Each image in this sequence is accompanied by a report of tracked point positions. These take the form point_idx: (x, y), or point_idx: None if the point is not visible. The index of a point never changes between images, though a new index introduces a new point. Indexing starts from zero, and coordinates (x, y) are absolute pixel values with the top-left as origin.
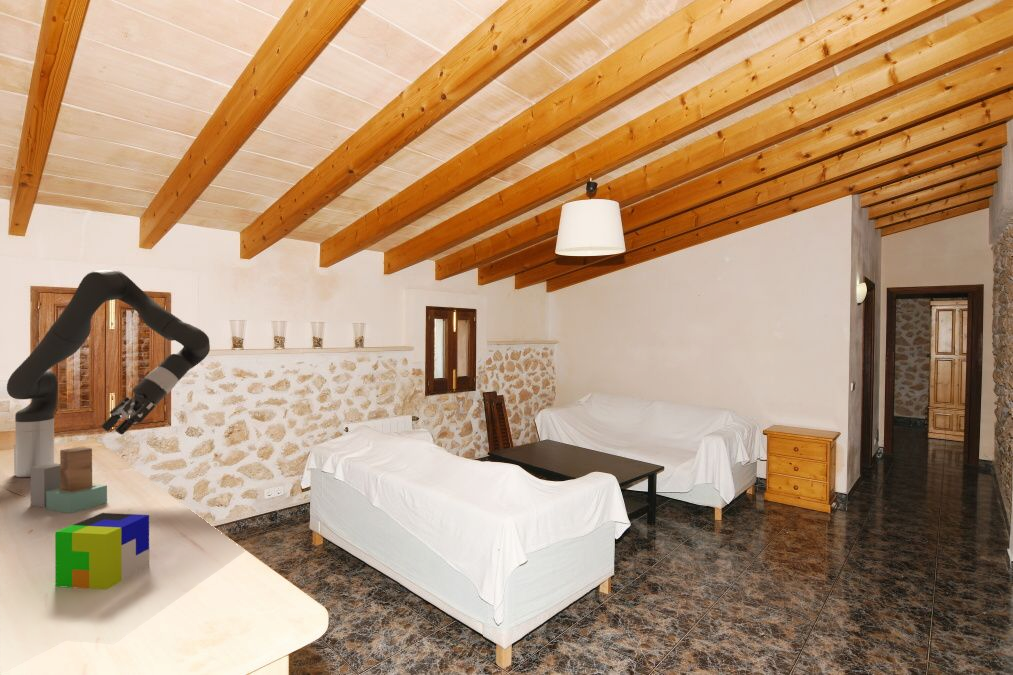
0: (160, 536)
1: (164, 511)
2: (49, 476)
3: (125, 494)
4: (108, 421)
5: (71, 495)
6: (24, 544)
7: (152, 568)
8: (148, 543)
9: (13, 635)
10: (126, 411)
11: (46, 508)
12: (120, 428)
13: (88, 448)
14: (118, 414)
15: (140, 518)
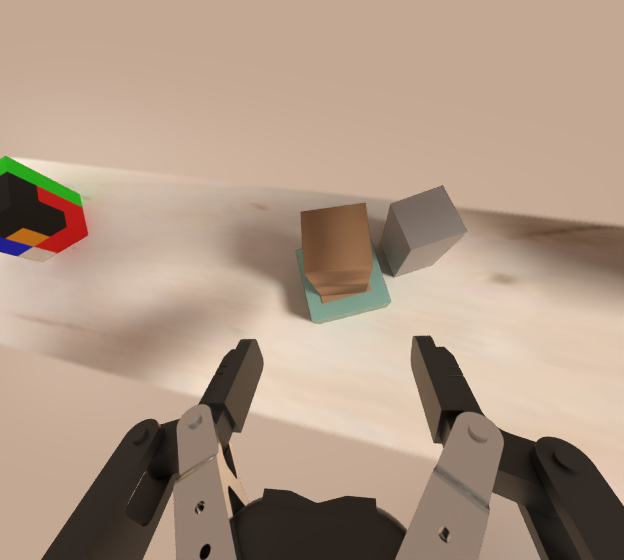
0: (94, 305)
1: (178, 362)
2: (392, 225)
3: (348, 371)
4: (425, 374)
5: (296, 253)
6: (213, 193)
7: (33, 261)
8: (8, 253)
9: (36, 162)
10: (335, 503)
11: None
12: (229, 355)
13: (315, 266)
14: (508, 493)
15: None
